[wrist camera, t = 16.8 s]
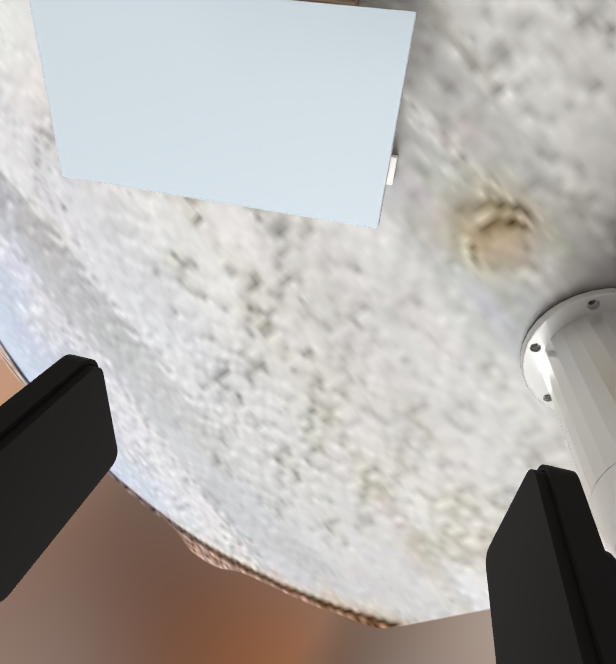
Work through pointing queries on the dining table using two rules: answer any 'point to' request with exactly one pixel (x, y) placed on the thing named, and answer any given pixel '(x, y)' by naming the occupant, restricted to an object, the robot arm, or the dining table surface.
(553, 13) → the dining table surface
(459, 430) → the dining table surface
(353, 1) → the socket block
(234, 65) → the small white step stool
